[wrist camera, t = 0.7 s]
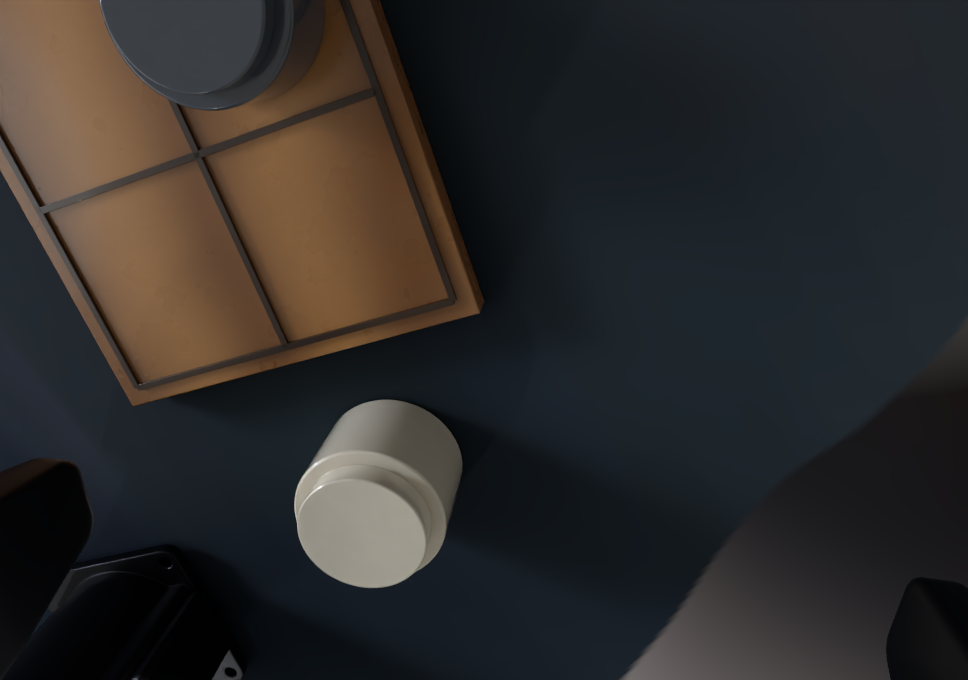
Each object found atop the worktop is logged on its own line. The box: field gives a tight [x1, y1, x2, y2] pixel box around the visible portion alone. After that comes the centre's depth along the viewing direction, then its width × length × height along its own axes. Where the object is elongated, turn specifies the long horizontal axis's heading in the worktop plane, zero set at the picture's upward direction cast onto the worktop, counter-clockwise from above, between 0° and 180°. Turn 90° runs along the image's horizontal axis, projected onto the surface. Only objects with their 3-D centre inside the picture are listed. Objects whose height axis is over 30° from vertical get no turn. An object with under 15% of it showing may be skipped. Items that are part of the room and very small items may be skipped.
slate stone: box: [99, 0, 325, 111], centre depth 17 cm, size 5×5×3 cm
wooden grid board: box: [0, 0, 484, 406], centre depth 19 cm, size 12×19×1 cm, turn 18°
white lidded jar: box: [294, 400, 462, 588], centre depth 22 cm, size 5×5×4 cm
